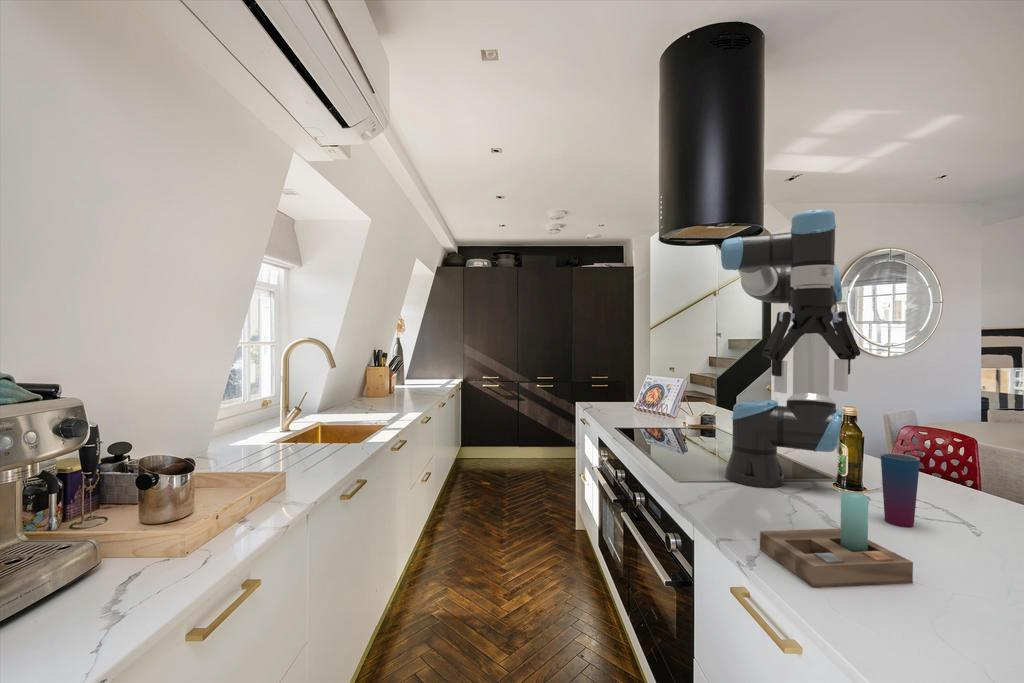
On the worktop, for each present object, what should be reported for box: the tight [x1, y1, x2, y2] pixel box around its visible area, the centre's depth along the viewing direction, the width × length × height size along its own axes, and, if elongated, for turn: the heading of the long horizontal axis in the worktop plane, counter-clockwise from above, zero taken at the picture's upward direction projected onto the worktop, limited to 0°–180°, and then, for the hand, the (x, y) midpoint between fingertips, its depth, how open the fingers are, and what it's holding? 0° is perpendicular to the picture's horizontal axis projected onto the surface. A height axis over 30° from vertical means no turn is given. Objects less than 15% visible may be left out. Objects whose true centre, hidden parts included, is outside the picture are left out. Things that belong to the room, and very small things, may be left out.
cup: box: [880, 452, 921, 528], centre depth 104 cm, size 7×7×15 cm
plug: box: [840, 491, 869, 552], centre depth 84 cm, size 4×4×12 cm
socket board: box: [759, 528, 914, 588], centre depth 84 cm, size 14×18×4 cm
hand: (810, 391), depth 95 cm, fingers open, 13 cm apart
